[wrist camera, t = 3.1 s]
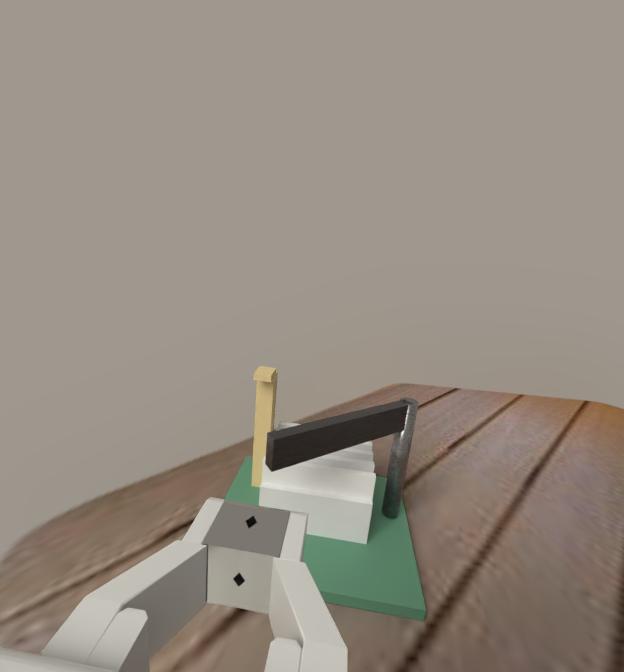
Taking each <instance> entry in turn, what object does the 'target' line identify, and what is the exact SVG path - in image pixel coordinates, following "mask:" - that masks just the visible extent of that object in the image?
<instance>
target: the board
mask: <svg viewBox="0 0 624 672" xmlns="http://www.w3.org/2000/svg"><path fill="white" fill-rule="evenodd" d="M277 373H278V372H276V368H271V367H263V366H260V367H259V368H258V369H257V370H256V371H255V373H254V380H257V392H256V410H255V429H254V447H253V457H249V456H247V457H246V459H245V460H244V462H243V464H242V466H241V468H240V470H239V472H238V474H237V476H236V477H235V479H234V481H233V483H232V485H231V487H230V489H229V491H228V493H227V494H226V496H225V498H224V500H230V501H235V502H241V503H246V504H251V505H256V506H263V507H269V508H276V509H282V510H289V511H298V512H305V513H308V524H307V533H306V542H305V551H304V560H303V562H304V563H306V564H307V566H308V569H309V571H310V573H311V575H312V577H313V579H314V581H315V583H316V585H317V587H318V589H319V591H320V593H321V596H322V598H323V600H324V602H326V603H332V604H337V605H342V606H348V607H353V608H358V609H364V610H369V611H374V612H379V613H385V614H390V615H395V616H401V617H406V618H411V619H416V620H422V621H424V618H425V614H426V607H425V602H424V598H423V593H422V588H421V584H420V579H419V574H418V569H417V565H416V560H415V555H414V551H413V546H412V541H411V537H410V532H409V527H408V522H407V518H406V513H405V508H404V504H403V499H402V497H401V503H400V508H399V514H398V516H397V517H396V518H388V517H386V516H385V515H384V514H383V513H382V504H383V498H384V492H385V486H386V480H387V477H380V476H376V473H374V467H375V465H374V462H372V461H373V452H372V443H371V441H368V442H365V443H362V444H359V445H356V446H352V447H349V448H346V449H343V450H340V451H337V452H333V453H330V454H327V455H324V456H321V457H318V458H314V459H311V460H308V461H305V462H302V463H299V464H296V465H292V466H289V467H286V468H283V469H280V470H277V471H273V472H271V471H270V470H269V468H268V467H267V466H266V464H265V459H266V444H267V433H268V432H272V431H274V417H275V402H276V387H277ZM297 425H301V424H295V423H287V422H279V428H278V429H276V430H280V429H284V428H288V427H293V426H297Z"/></svg>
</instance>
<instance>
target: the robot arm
mask: <svg viewBox="0 0 624 672" xmlns="http://www.w3.org/2000/svg"><path fill="white" fill-rule="evenodd" d="M307 524H308V513H305V512H298V511H289V510H282V509H276V508H269V507H263V506H256V505H251V504H246V503H241V502H235V501H230V500H223V499H218V498H213V497H210V498H209V499H207V500H206V502H205V503H204V505H203V507H202V508H201V510H200V512H199V513H198V515H197V517H196V518H195V520H194V522H193V523H192V525H191V527H190V528H189V530H188V532H187V533H186V535H185V537H184V538H183V540H182V541H179V540H176V541H175V542H173V543H171V544H170V545H168V546H166V547H165V548H163V549H162V550H160V551H158V552H157V553H155V554H153V555H152V556H150V557H149V558H147V559H145V560H144V561H142V562H140V563H139V564H137V565H136V566H134V567H132V568H131V569H129V570H127V571H126V572H124V573H123V574H121V575H119V576H118V577H116V578H114V579H113V580H111V581H110V582H108V583H106V584H105V585H103V586H101V587H100V588H98V589H97V590H95V591H93V592H92V593H90V594H88V595H87V596H85V597H84V599H83V600H82V601H81V602H80V604H79V605H78V606H77V607H76V609H75V610H74V611H73V613H72V614H71V615H70V616H69V618H68V619H67V620H66V621H65V623H64V624H63V625H62V626H61V628H60V629H59V630H58V632H57V633H56V634H55V635H54V637H53V638H52V639H51V640H50V642H49V643H48V644H47V645H46V647H45V648H44V649H43V651H42V652H41V653H40V654H39V655H38V654H34V653H29V652H24V651H20V650H15V649H11V648H6V647H1V646H0V672H150V671H149V660H150V659H151V658H152V657H153V656H154V655H155V654H156V653H157V652H159V651H160V650H161V649H162V648H163V647H164V646H165V645H166V644H167V643H168V642H169V641H170V640H171V639H172V638H173V637H174V636H175V635H176V634H177V633H178V632H179V631H180V630H181V629H182V628H183V627H184V626H185V625H186V624H187V623H188V622H189V621H190V620H191V619H192V618H193V617H194V616H195V615H196V614H197V613H198V612H199V611H200V610H201V609H202V608H203V607H204V606H205V605H206V603H212V604H219V605H225V606H231V607H238V608H242V609H246V610H251V611H255V612H260V613H264V614H268V615H269V619H270V623H271V627H272V631H273V635H274V639H275V640H273V641H272V642H271V644H270V649H269V653H268V658H267V662H266V667H265V671H264V672H347V648H346V645H345V643H344V641H343V639H342V637H341V635H340V633H339V631H338V629H337V627H336V625H335V623H334V620H333V618H332V616H331V614H330V612H329V610H328V608H327V606H326V604H325V602H324V600H323V598H322V596H321V593H320V591H319V589H318V587H317V585H316V583H315V581H314V579H313V577H312V575H311V573H310V571H309V569H308V566H307V564H306V563H304V562H303V560H304V551H305V542H306V533H307Z"/></svg>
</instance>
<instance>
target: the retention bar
mask: <svg viewBox="0 0 624 672" xmlns="http://www.w3.org/2000/svg"><path fill="white" fill-rule="evenodd" d="M417 409H418V402H417V401H416V400H414V399H411V398H401V399H400V401H396V402H392V403H388V404H384V405H380V406H375V407H371V408H367V409H363V410H359V411H355V412H351V413H346V414H342V415H338V416H334V417H330V418H326V419H322V420H317V421H313V422H309V423H305V424H301V425H297V426H293V427H288V428H284V429H280V430H276V431H272V432H268V433H267V444H266V459H265V464H266V466H267V467H268V468H269V470H270V471H271V472H273V471H277V470H280V469H283V468H286V467H289V466H292V465H296V464H299V463H302V462H305V461H308V460H311V459H314V458H318V457H321V456H324V455H327V454H330V453H333V452H337V451H340V450H343V449H346V448H349V447H352V446H356V445H359V444H362V443H365V442H368V441H371V440H374V439H378V438H381V437H384V436H387V435H390V434H393V433H394V438H393V444H392V450H391V456H390V462H389V468H388V474H387V480H386V486H385V492H384V498H383V504H382V513H383V514H384V515H385V516H386V517H388V518H396V517H397V516H398V514H399V508H400V503H401V497H402V492H403V486H404V480H405V475H406V469H407V464H408V458H409V453H410V447H411V442H412V436H413V431H414V425H415V420H416V414H417Z"/></svg>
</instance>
